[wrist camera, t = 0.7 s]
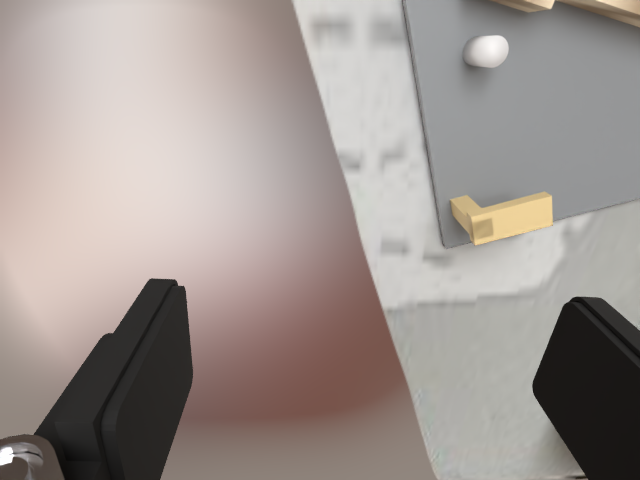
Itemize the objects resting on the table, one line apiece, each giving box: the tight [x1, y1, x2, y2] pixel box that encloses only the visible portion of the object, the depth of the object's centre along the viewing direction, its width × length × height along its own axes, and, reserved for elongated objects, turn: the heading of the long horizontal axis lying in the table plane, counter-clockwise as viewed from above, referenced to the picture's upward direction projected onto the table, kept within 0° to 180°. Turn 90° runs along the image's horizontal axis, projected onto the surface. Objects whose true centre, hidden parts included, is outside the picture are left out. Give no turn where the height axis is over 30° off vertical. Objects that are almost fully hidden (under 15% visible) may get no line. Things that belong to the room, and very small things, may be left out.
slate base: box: [402, 0, 640, 249], centre depth 29 cm, size 22×27×6 cm
